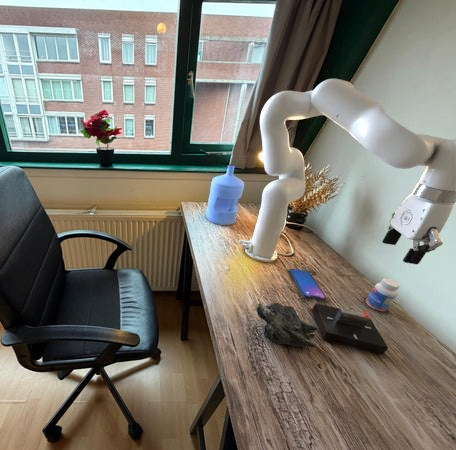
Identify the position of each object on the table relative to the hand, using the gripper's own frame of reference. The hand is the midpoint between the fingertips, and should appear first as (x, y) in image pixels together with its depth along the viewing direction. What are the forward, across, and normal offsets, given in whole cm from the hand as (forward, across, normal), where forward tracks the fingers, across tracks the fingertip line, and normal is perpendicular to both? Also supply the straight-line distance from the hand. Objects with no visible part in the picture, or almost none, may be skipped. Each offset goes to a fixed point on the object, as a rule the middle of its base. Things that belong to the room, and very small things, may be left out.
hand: (398, 252), depth 67 cm
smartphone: (+22, -7, -15) cm, 27 cm away
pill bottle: (+22, -3, +5) cm, 23 cm away
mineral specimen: (+22, +19, -28) cm, 40 cm away
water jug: (+21, -50, -46) cm, 71 cm away
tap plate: (+22, +11, -10) cm, 26 cm away
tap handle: (+19, +11, -9) cm, 24 cm away
